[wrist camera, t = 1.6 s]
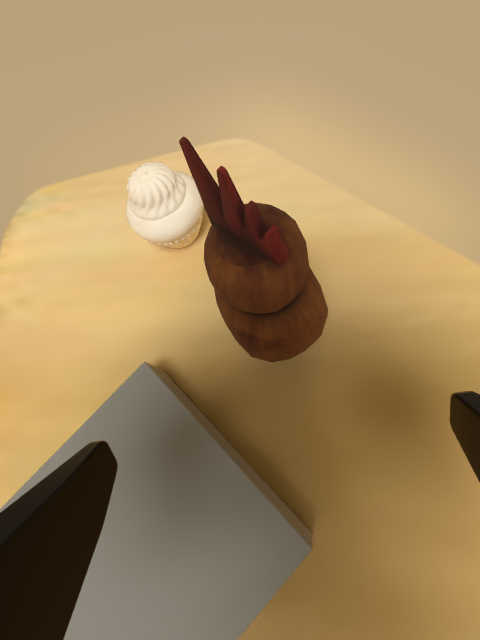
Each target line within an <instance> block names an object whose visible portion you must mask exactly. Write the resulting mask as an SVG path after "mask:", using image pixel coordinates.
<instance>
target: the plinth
mask: <svg viewBox="0 0 480 640" xmlns="http://www.w3.org/2000/svg"><path fill="white" fill-rule="evenodd" d="M101 440H103V441H106V442H107V443H108V445H109V446H110V448H111V450H112V452H113V454H114V456H115V458H116V460H117V464H118V469H117V474H116V478H115V482H114V486H113V490H112V494H111V498H110V502H109V506H108V510H107V514H106V517H105V521H104V524H103V528H102V531H101V534H100V537H99V540H98V543H97V546H96V548H95V551H94V554H93V557H92V560H91V563H90V566H89V568H88V571H87V574H86V577H85V580H84V583H83V586H82V588H81V591H80V594H79V597H78V600H77V603H76V605H75V608H74V611H73V614H72V617H71V620H70V623H69V625H68V628H67V631H66V634H65V637H64V640H237V639H238V638H239V637H240V636H241V635H242V633H243V632H244V631H245V630H246V629H247V627H248V626H249V625H250V624H251V623H252V621H253V620H254V619H255V618H256V617H257V615H258V614H259V613H260V612H261V610H262V609H263V608H264V607H265V606H266V604H267V603H268V602H269V601H270V600H271V598H272V597H273V596H274V595H275V594H276V592H277V591H278V590H279V589H280V588H281V586H282V585H283V584H284V583H285V581H286V580H287V579H288V578H289V577H290V575H291V574H292V573H293V572H294V571H295V569H296V568H297V567H298V566H299V565H300V563H301V562H302V561H303V560H304V559H305V557H306V556H307V555H308V554H309V552H310V551H311V550H312V532H311V531H310V530H309V529H308V528H307V527H306V526H305V525H304V524H303V522H302V521H301V520H300V519H299V518H298V517H297V516H296V515H295V514H294V513H293V511H292V510H291V509H290V508H289V507H288V506H287V505H286V504H285V503H284V502H283V501H282V499H281V498H280V497H279V496H278V495H277V494H276V493H275V492H274V491H273V490H272V489H271V487H270V486H269V485H268V484H267V483H266V482H265V481H264V480H263V479H262V478H261V476H260V475H259V474H258V473H257V472H256V471H255V470H254V469H253V468H252V467H251V466H250V464H249V463H248V462H247V461H246V460H245V459H244V458H243V457H242V456H241V455H240V454H239V452H238V451H237V450H236V449H235V448H234V447H233V446H232V445H231V444H230V443H229V441H228V440H227V439H226V438H225V437H224V436H223V435H222V434H221V433H220V432H219V431H218V429H217V428H216V427H215V426H214V425H213V424H212V423H211V422H210V421H209V420H208V418H207V417H206V416H205V415H204V414H203V413H202V412H201V411H200V410H199V409H198V408H197V406H196V405H195V404H194V403H193V402H192V401H191V400H190V399H189V398H188V397H187V396H186V394H185V393H184V392H183V391H182V390H181V389H180V388H179V387H178V386H177V385H176V383H175V382H174V381H173V380H172V379H171V378H170V377H169V376H168V375H167V374H166V373H165V371H163V370H161V369H159V368H157V367H155V366H153V365H150V364H148V363H146V362H144V363H143V364H142V365H141V366H140V367H139V368H138V369H137V370H136V371H135V372H134V373H133V374H132V375H131V376H130V377H129V378H128V379H127V380H126V381H125V382H124V383H123V384H122V385H121V386H120V387H119V388H118V389H117V390H116V391H115V392H114V393H113V394H112V395H111V396H110V397H109V398H108V400H107V401H106V402H105V403H104V404H103V405H102V406H101V407H100V408H99V409H98V410H97V411H96V412H95V413H94V414H93V415H92V416H91V417H90V418H89V419H88V420H87V421H86V422H85V423H84V424H83V425H82V426H81V427H80V428H79V429H78V430H77V431H76V432H75V433H74V434H73V435H72V436H71V437H70V438H69V439H68V440H67V441H66V442H65V443H64V444H63V445H62V446H61V447H60V449H59V450H58V451H57V452H56V453H55V454H54V455H53V456H52V457H51V458H50V459H49V460H48V461H47V462H46V463H45V464H44V465H43V466H42V467H41V468H40V469H39V470H38V471H37V472H36V473H35V474H34V475H33V476H32V477H31V478H30V479H29V480H28V481H27V482H26V483H25V484H24V485H23V486H22V487H21V488H20V489H19V490H18V491H17V492H16V493H15V494H14V495H13V497H12V498H11V499H10V500H9V501H8V502H7V503H6V504H5V505H4V506H3V507H2V508H1V509H0V513H1V512H2V511H3V510H4V509H6V508H7V507H8V506H9V505H11V504H12V503H13V502H15V501H16V500H17V499H18V498H20V497H21V496H22V495H24V494H25V493H26V492H27V491H29V490H30V489H31V488H32V487H34V486H35V485H36V484H38V483H39V482H40V481H41V480H43V479H44V478H45V477H46V476H48V475H49V474H50V473H52V472H53V471H54V470H55V469H57V468H58V467H59V466H60V465H62V464H63V463H64V462H66V461H67V460H68V459H69V458H71V457H72V456H73V455H74V454H76V453H77V452H78V451H80V450H81V449H82V448H83V447H85V446H86V445H87V444H89V443H90V442H94V441H101Z"/></svg>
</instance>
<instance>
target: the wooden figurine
mask: <svg viewBox="0 0 480 640" xmlns="http://www.w3.org/2000/svg"><path fill="white" fill-rule="evenodd" d="M179 143H180V145H181V148H182V150H183V153H184V156H185V158H186V161H187V163H188V166H189V168H190V171H191V174H192V176H193V179H194V181H195V184H196V186H197V189H198V192H199V194H200V197H201V199H202V202H203V204H204V207H205V209H206V212H207V214H208V217H209V219H210V221H211V224H212V226H211V227H210V229H209V232H208V235H207V238H206V240H205V244H204V261H205V266H206V270H207V273H208V276H209V280H210V282H211V283H212V285H213V287H214V290H215V296H216V301H217V305H218V307H219V310H220V312H221V315H222V317H223V319H224V321H225V323H226V325H227V326H228V328H229V330H230V331H231V333H232V334H233V336H234V338H235V339H236V341H237V342H238V343H239V344H240V345H241V346H242V347H243V348H244V349H245V350H246V351H247V352H248V353H249V354H250V356H251V357H254V358H258V359H262V360H266V361H269V362H276V361H281V360H286V359H290V358H292V357H294V356H296V355H298V354H299V353H301V352H303V351H305V350H306V349H307V348H308V347H309V346H310V345H312V344H313V343H314V342H315V341H316V340H317V339H318V338H319V337H320V336H321V334H322V331H323V328H324V325H325V322H326V319H327V314H328V308H327V305H326V302H325V299H324V296H323V293H322V289H321V286H320V284H319V282H318V281H317V279H316V277H315V275H314V274H313V272H312V270H311V269H310V267H309V263H308V254H307V247H306V241H305V239H304V237H303V235H302V233H301V231H300V229H299V227H298V225H297V223H296V221H295V220H294V219H292V218H291V217H290V216H289V215H288V214H287V213H285V212H284V211H282V210H280V209H278V208H276V207H274V206H272V205H267V204H261V203H255V202H253V201H250V202H249V203H248V204H243V202H242V200H241V198H240V196H239V194H238V192H237V190H236V188H235V186H234V184H233V182H232V180H231V178H230V176H229V174H228V172H227V170H226V169H225V168H224V167H223V166H220V167H219V168H218V169H217V177H218V183H219V186H218V185H217V183H216V182H215V180H214V179H213V177H212V176H211V174H210V173H209V171H208V169H207V168H206V166H205V165H204V163H203V162H202V160H201V159H200V157H199V155H198V154H197V152H196V151H195V149H194V148H193V146H192V145H191V143H190V142H189V140H188V139H187V138H185V137H182V138H181V139H180V141H179Z"/></svg>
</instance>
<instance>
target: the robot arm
mask: <svg viewBox="0 0 480 640" xmlns="http://www.w3.org/2000/svg"><path fill="white" fill-rule="evenodd" d="M450 424H451V427H452V430H453V432H454V434H455V436H456V438H457V440H458V442H459V444H460V445H461V447H462V449H463V451H464V453H465V455H466V457H467V459H468V461H469V463H470V465H471V467H472V469H473V471H474V472H475V474H476V476H477V478H478V480H479V482H480V395H479V394H477V393H475V392H472V391H465V392H457V393H454V394H452V395H451V399H450ZM117 469H118V464H117V460H116V458H115V456H114V454H113V452H112V450H111V448H110V446H109V445H108V443H107V442H106V441H103V440H101V441H94V442H90V443H89V444H87V445H86V446H85V447H83V448H82V449H81V450H80V451H78V452H77V453H76V454H74V455H73V456H72V457H71V458H69V459H68V460H67V461H66V462H64V463H63V464H62V465H60V466H59V467H58V468H57V469H55V470H54V471H53V472H52V473H50V474H49V475H48V476H46V477H45V478H44V479H43V480H41V481H40V482H39V483H38V484H36V485H35V486H34V487H32V488H31V489H30V490H29V491H27V492H26V493H25V494H24V495H22V496H21V497H20V498H18V499H17V500H16V501H15V502H13V503H12V504H11V505H9V506H8V507H7V508H6V509H4V510H3V511H2V512H1V513H0V640H64V637H65V634H66V631H67V628H68V625H69V623H70V620H71V617H72V614H73V611H74V608H75V605H76V603H77V600H78V597H79V594H80V591H81V588H82V586H83V583H84V580H85V577H86V574H87V571H88V568H89V566H90V563H91V560H92V557H93V554H94V551H95V548H96V546H97V543H98V540H99V537H100V534H101V531H102V528H103V524H104V521H105V517H106V514H107V510H108V506H109V502H110V498H111V494H112V490H113V486H114V482H115V478H116V474H117Z"/></svg>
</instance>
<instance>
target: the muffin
mask: <svg viewBox="0 0 480 640" xmlns="http://www.w3.org/2000/svg"><path fill="white" fill-rule="evenodd" d="M131 175H132V176H131V177H129V178H128V185H127V188H126V189H127V191H128V192H129V194H128V196H129V198H128V201H127V206H126V216H127V220H128V222H129V224H130V226H131V228H132V229H133V231H134V232H135V233H136V234H137V235H138V236H140V237H141V238H143V239H145V240H147V241H149V242H152V243H153V244H156V245H160V246H165V247H170V248H178V249H179V248H183V247H186V246H189V244H192V242H193V241H195V239H196V238H197V236H198V234H199V230H200V226H201V222H202V218H203V209H204V204H203V202H202V199H201V197H200V194H199V192H198V189H197V186H196V184H195V181H194V179H193V178H192V177H191V176H189V175H187V174H185V173H182V172H178V171H173V170H171V169H170V168H168V167H167V166H166V165H165V164H163V163H159V162H158V163H157V162H149V163H143V164H142V166H141V167H137V168H136V171H133V172H132V173H131Z"/></svg>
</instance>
